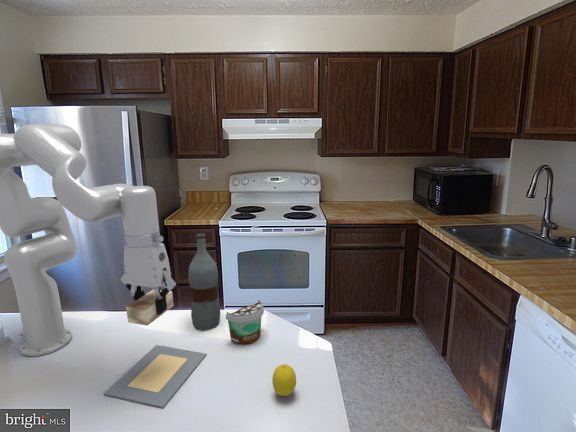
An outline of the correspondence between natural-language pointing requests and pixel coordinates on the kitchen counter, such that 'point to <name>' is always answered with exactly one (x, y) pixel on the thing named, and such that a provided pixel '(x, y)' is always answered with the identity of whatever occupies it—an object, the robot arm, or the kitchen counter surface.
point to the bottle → (204, 288)
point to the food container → (245, 324)
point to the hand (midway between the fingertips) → (151, 309)
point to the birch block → (146, 308)
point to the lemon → (284, 380)
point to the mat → (156, 376)
